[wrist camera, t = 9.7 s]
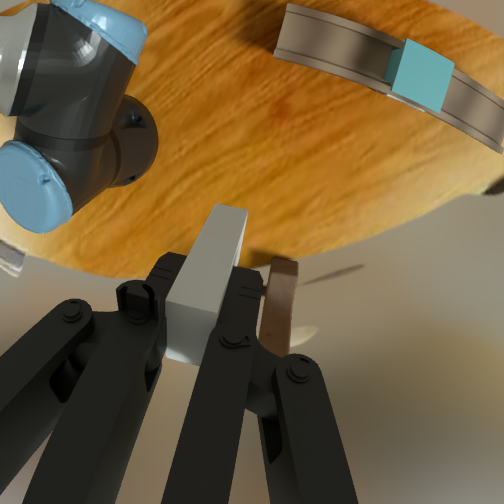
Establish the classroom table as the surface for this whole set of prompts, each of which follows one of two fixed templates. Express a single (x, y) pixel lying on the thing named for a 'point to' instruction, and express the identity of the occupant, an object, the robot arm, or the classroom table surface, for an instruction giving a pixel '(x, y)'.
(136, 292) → the robot arm
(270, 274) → the wooden block
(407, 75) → the rider
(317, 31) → the wooden bench
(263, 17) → the classroom table surface
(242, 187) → the classroom table surface
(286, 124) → the classroom table surface
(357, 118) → the classroom table surface
